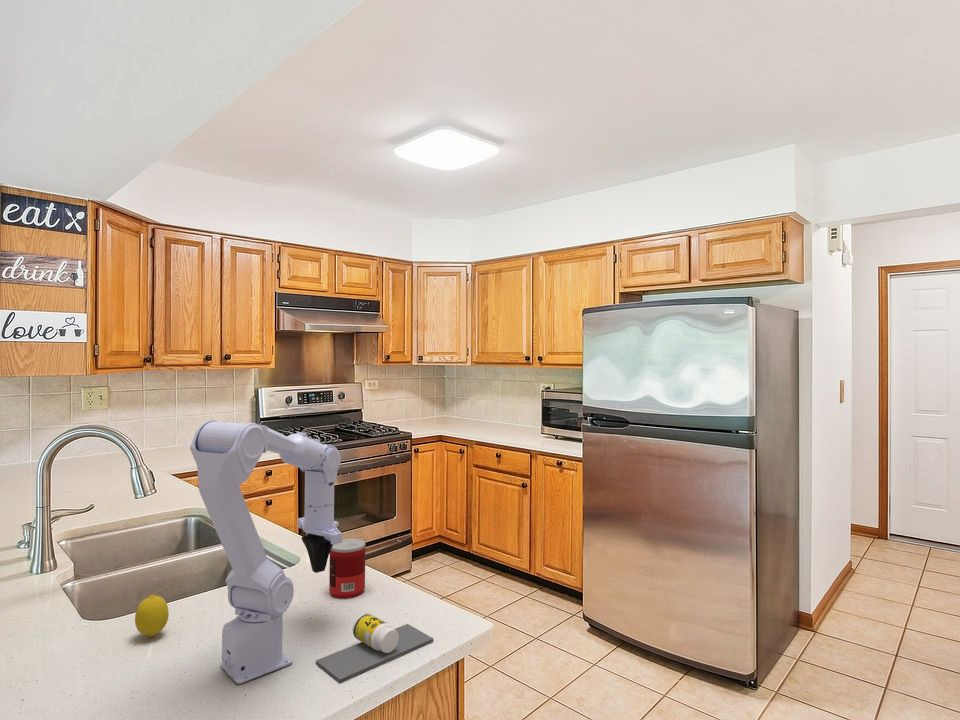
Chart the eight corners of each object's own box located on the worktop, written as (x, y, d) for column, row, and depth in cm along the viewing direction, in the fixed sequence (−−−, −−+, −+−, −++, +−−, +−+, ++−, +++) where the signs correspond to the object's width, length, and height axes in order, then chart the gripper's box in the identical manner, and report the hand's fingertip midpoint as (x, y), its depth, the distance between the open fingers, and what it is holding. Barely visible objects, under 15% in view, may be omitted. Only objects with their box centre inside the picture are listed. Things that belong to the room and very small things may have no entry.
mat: (339, 683, 95) (339, 679, 95) (315, 663, 101) (315, 660, 101) (433, 641, 109) (433, 638, 109) (407, 626, 115) (407, 623, 115)
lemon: (127, 641, 108) (128, 598, 108) (153, 627, 113) (154, 587, 113) (149, 646, 106) (150, 603, 106) (175, 633, 111) (175, 591, 111)
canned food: (372, 589, 132) (372, 542, 132) (346, 602, 126) (347, 552, 126) (347, 582, 137) (348, 535, 136) (321, 593, 130) (322, 545, 130)
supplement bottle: (373, 609, 111) (401, 624, 105) (372, 634, 111) (400, 650, 105) (352, 616, 107) (380, 632, 102) (351, 642, 107) (379, 659, 102)
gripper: (356, 507, 114) (355, 576, 114) (319, 493, 124) (319, 556, 124) (323, 514, 109) (322, 585, 109) (288, 499, 119) (287, 564, 119)
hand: (318, 570), depth 116 cm, fingers closed
